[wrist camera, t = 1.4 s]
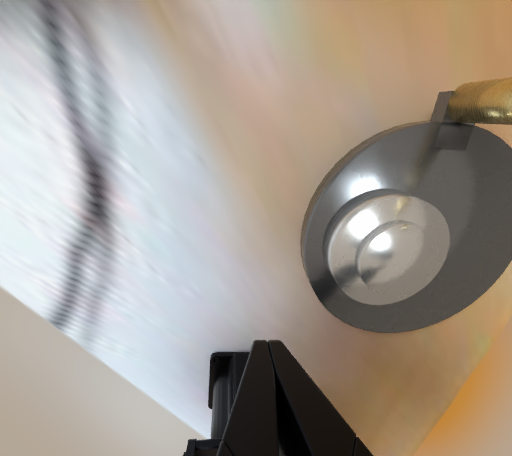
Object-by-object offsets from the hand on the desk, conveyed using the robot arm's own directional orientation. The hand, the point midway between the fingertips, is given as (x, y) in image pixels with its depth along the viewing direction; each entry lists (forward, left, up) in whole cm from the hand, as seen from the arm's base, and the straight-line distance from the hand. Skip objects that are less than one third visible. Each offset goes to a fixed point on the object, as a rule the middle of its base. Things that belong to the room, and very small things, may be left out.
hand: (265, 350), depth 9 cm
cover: (0, -8, -9) cm, 12 cm away
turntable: (+1, -11, -11) cm, 16 cm away
